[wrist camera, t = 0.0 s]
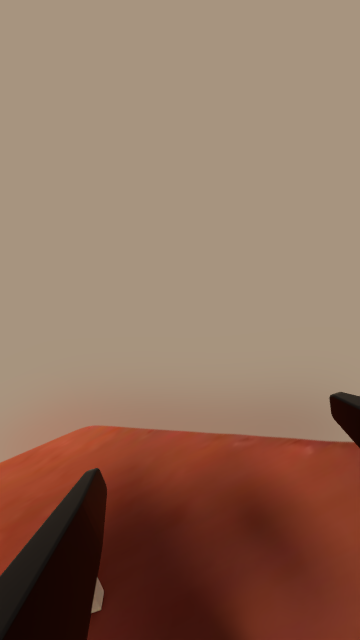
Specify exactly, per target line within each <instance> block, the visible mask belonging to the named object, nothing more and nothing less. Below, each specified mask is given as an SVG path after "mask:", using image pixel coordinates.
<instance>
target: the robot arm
mask: <svg viewBox="0 0 360 640" xmlns="http://www.w3.org/2000/svg"><path fill="white" fill-rule="evenodd" d="M330 407H331V414H332V416H333V418H334V420H335V421H336V422H337V423H338V424H339V425H340V426H341V428H342V429H343V430H344V431H345V432H346V433H347V434H348V435H349V437H350V438H351V439H352V440H353V441H354V442H355V443H356V444H357V446H358V447H359V448H360V396H356V395H351V394H347V393H343V392H338V393H335V394H332V395H330ZM106 499H107V487H106V484H105V481H104V479H103V476H102V474H101V472H100V470H99V469H98V468H95V469H92V470H88V471H87V472H85V473H84V475H83V476H82V477H81V478H80V480H79V481H78V482H77V483H76V484H75V486H74V487H73V488H72V489H71V490H70V492H69V493H68V494H67V495H66V497H65V498H64V499H63V500H62V501H61V503H60V504H59V505H58V506H57V508H56V509H55V510H54V511H53V512H52V514H51V515H50V516H49V517H48V519H47V520H46V521H45V522H44V523H43V525H42V526H41V527H40V528H39V530H38V531H37V532H36V533H35V534H34V536H33V537H32V538H31V539H30V540H29V542H28V543H27V544H26V545H25V547H24V548H23V549H22V550H21V551H20V553H19V554H18V555H17V556H16V558H15V559H14V560H13V561H12V562H11V564H10V565H9V566H8V567H7V569H6V570H5V571H4V572H3V573H2V575H1V576H0V640H87V635H88V629H89V623H90V617H91V611H92V605H93V599H94V593H95V588H96V582H97V576H98V570H99V564H100V558H101V552H102V544H103V534H104V522H105V510H106Z"/></svg>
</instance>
